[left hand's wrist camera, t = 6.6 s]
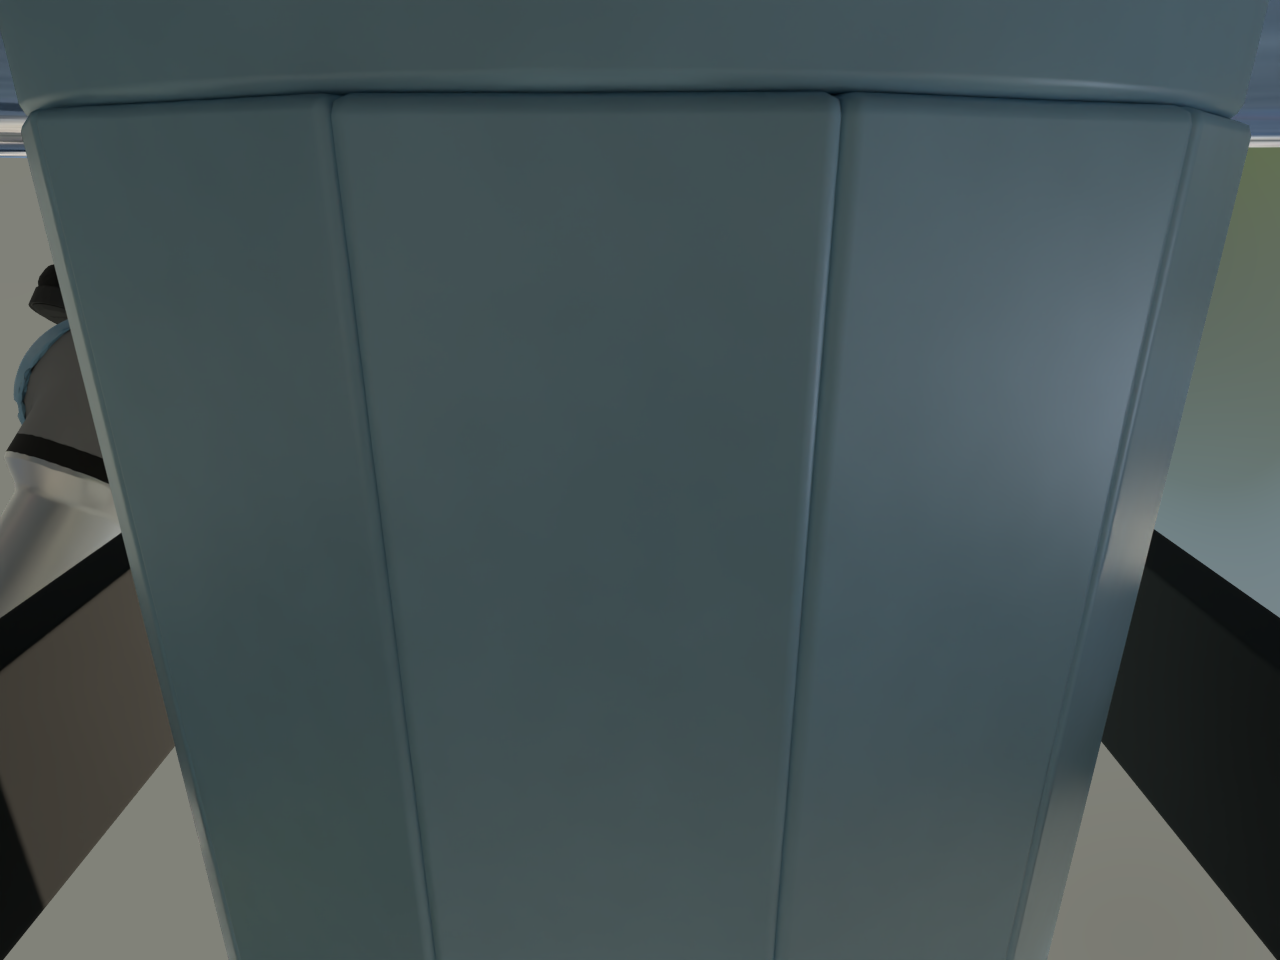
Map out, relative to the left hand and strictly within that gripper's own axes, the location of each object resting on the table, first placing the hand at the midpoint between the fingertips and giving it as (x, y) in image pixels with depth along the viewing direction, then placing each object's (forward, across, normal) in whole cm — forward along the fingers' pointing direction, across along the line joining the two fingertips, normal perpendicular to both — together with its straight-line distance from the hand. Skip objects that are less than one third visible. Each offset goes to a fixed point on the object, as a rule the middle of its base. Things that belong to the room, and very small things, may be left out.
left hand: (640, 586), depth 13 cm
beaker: (-3, 0, -7) cm, 8 cm away
